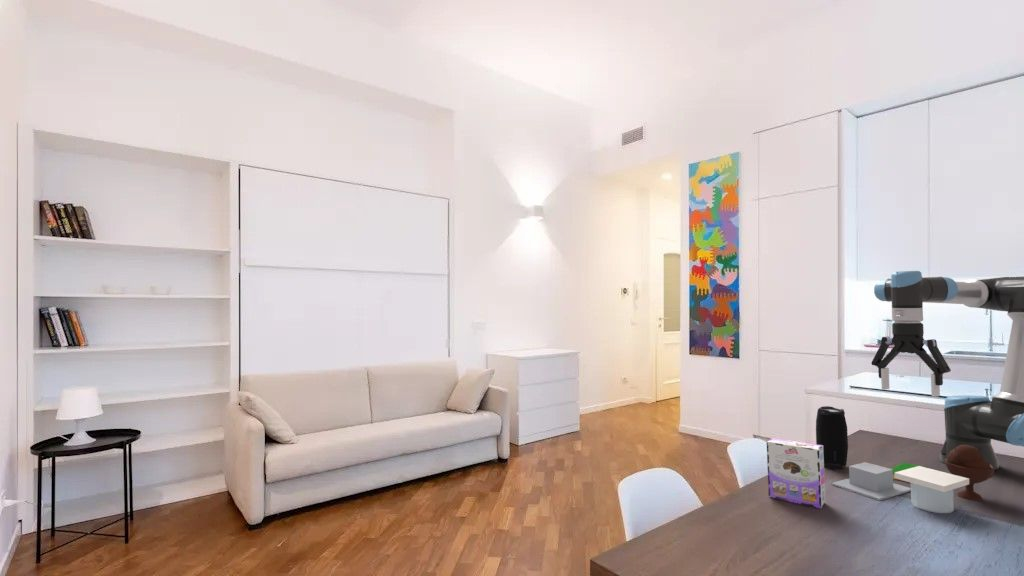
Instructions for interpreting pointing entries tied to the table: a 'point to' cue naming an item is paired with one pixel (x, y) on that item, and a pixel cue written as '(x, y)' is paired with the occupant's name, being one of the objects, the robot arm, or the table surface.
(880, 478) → the stand
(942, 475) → the white flat square block
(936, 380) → the robot arm
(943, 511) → the ceramic bowl
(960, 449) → the ice cream bowl
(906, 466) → the dish sponge
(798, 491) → the candy box
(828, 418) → the portable speaker
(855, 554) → the table surface
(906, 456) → the table surface
